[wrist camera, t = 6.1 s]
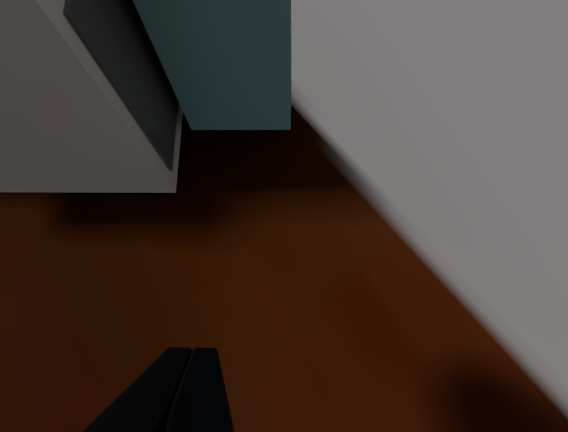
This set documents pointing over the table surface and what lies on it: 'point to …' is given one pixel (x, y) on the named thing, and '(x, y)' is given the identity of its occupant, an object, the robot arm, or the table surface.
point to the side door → (225, 60)
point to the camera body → (84, 100)
